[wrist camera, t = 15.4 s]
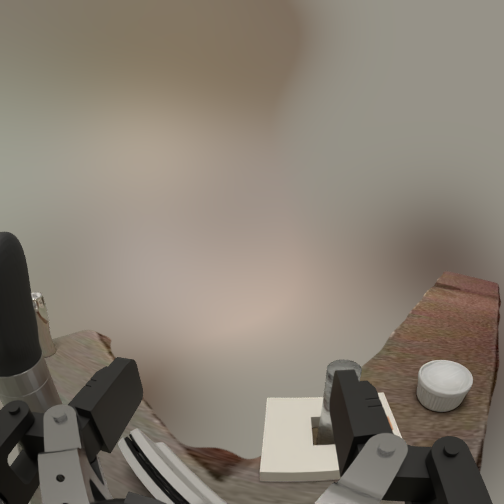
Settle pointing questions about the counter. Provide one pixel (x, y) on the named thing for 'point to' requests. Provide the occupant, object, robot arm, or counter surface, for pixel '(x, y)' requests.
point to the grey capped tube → (325, 425)
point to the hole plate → (300, 441)
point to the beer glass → (43, 324)
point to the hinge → (165, 472)
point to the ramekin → (443, 385)
